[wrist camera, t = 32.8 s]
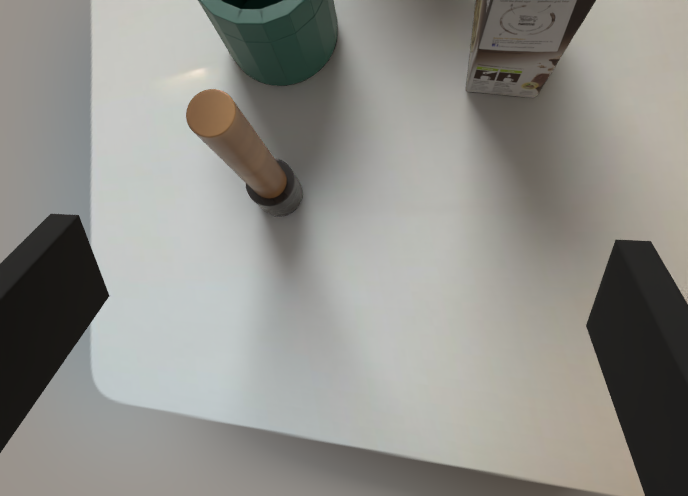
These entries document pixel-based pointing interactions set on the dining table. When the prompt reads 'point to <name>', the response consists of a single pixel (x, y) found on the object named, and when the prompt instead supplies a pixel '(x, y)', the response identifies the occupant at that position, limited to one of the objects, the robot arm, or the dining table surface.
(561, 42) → the coffee box
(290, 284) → the dining table surface
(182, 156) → the dining table surface
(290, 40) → the jar
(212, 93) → the brush
